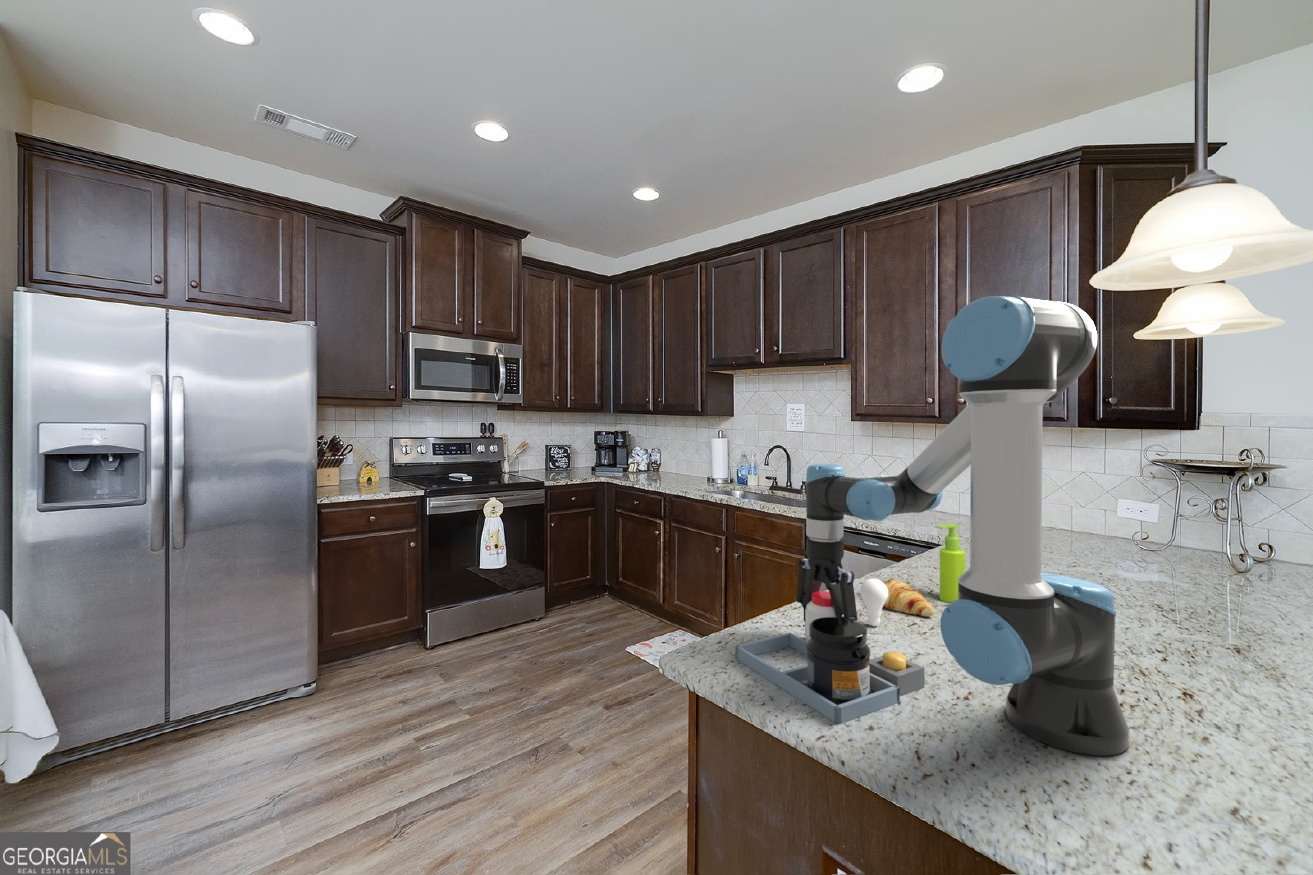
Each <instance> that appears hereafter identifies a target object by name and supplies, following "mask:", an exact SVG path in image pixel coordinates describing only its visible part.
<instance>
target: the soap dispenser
mask: <svg viewBox="0 0 1313 875" xmlns="http://www.w3.org/2000/svg"><path fill="white" fill-rule="evenodd" d="M935 527H936V528H938V529H941V530H943V529H948V535H946V536H945V537H944V544H945V545H944V548H943V547H942V548H940V549H939V600H940V601H942V602H944V603H949V604H951V602H953V601H956V600H958V578H959V576H961V575H962V574H963V573H965V572H966V551H964V550H963V549H960V548H961V544H960V543H961V541H960V540H961V538H960V537H959V536H957V529H960V527H961V526H960V525H958V524H955V523H945V524H939V525H936V526H935Z"/></svg>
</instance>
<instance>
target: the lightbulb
mask: <svg viewBox="0 0 1313 875" xmlns="http://www.w3.org/2000/svg"><path fill="white" fill-rule="evenodd" d="M883 582H884V581H881V580H880V579H877V578H868V579H866V580H864V581H863V582H862V583H861V585H860V587H859V595H860V598H861V599H862V602H864V606H865V608H866V609H865V610H866V614H867V621H868V622H867V623H868V624H869V625H871V626H872V627H877V626H880V624H881V623H880V622H881V616H882V611H883V608H884V607H883V605H884V603H885V602H886V600H887V598H888V589H887V587H886V585H885V584H884V583H883Z"/></svg>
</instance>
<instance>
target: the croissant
mask: <svg viewBox="0 0 1313 875" xmlns="http://www.w3.org/2000/svg"><path fill="white" fill-rule="evenodd" d="M882 582H883V583H884V584H885V585H886V587H887V589H888V598H887V600H886V602H885V603H884V605H883V607H882V608H886V609H887V610H890V611H895V612H899V613H905V614H907V615H908V614H910V615H914V616H915V615H918V616H921V617H932V616H933V615H934V614H935V610H934V608H933V606H932V605H931V603H930V602H929V601H928V600H926V598H925V597H924V596H923V595H922V594H921V592H920V591H918V590H917V591H916V590H914V589H912V587H910V585H909V584H907V583H905V582H902V581H901V580H898V579H894V578H891V579H888V580H886V581H882Z"/></svg>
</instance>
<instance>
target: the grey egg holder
mask: <svg viewBox="0 0 1313 875" xmlns="http://www.w3.org/2000/svg"><path fill="white" fill-rule="evenodd" d="M870 673H872V674H874V675H876V676H878V677H880V678H882V679H884V680H886V681H888V682H890V683H892V684H894V685H896V686H898V687H900V697H901V696H904V695H907V694H909V693H912V692H914V691H918V690H920V689H924V688H925V667H924V666H921V665H919V664H916V663H914V662H912V661H910V660H908V659H906V669H904V670H901V671H898V672H895V671H893V670H891V669H889V668H887V667H885V666H883V655H880V656H877V657H873V658H871V659H870Z"/></svg>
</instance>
